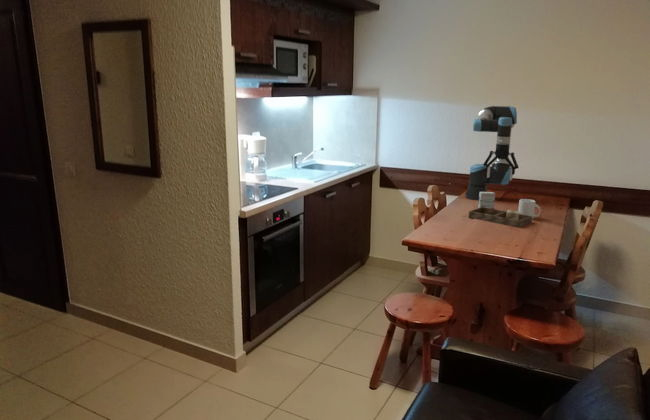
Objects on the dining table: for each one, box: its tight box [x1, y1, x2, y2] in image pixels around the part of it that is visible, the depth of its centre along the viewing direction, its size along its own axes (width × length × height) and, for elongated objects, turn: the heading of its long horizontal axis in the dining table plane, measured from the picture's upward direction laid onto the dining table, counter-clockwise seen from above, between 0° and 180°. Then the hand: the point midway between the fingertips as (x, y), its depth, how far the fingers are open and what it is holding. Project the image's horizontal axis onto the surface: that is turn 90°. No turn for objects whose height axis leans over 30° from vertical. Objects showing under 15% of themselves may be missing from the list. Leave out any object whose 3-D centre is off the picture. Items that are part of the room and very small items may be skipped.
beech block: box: [506, 209, 519, 221], centre depth 269 cm, size 6×6×6 cm
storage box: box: [468, 207, 533, 229], centre depth 274 cm, size 30×16×4 cm, turn 45°
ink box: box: [477, 191, 496, 209], centre depth 294 cm, size 9×5×12 cm, turn 84°
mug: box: [517, 198, 542, 220], centre depth 277 cm, size 9×12×11 cm
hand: (499, 178), depth 292 cm, fingers open, 13 cm apart
